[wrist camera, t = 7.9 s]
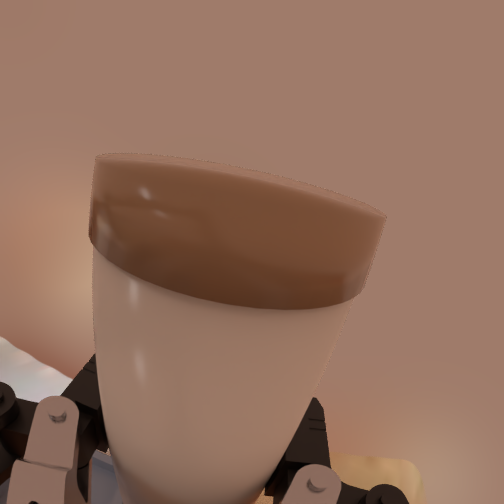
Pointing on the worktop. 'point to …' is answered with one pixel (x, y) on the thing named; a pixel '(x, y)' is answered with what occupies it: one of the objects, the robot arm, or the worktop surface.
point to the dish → (102, 482)
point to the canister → (214, 317)
